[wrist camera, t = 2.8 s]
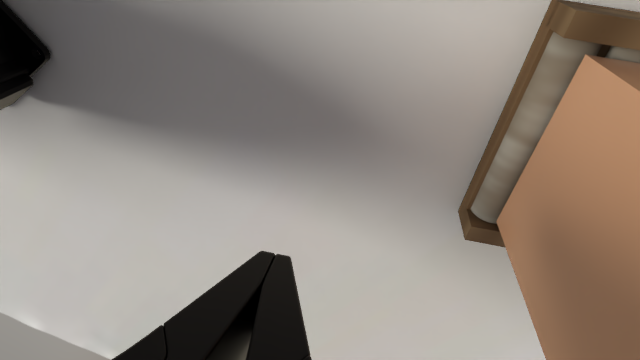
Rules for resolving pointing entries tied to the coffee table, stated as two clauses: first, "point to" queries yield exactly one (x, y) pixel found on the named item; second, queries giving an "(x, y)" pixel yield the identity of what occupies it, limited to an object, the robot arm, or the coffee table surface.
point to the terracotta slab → (583, 219)
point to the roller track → (541, 102)
